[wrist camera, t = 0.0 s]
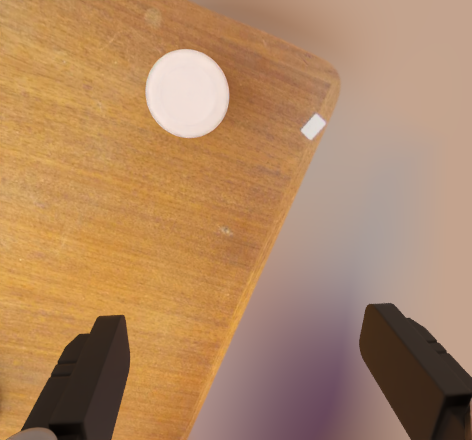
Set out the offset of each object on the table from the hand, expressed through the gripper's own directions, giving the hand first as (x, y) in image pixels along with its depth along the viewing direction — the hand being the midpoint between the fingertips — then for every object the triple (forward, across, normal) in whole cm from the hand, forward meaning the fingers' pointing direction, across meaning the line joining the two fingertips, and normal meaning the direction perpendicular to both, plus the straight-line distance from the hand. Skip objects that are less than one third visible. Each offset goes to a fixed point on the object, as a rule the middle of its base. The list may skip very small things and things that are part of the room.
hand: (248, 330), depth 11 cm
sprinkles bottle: (+24, +2, -7) cm, 25 cm away
